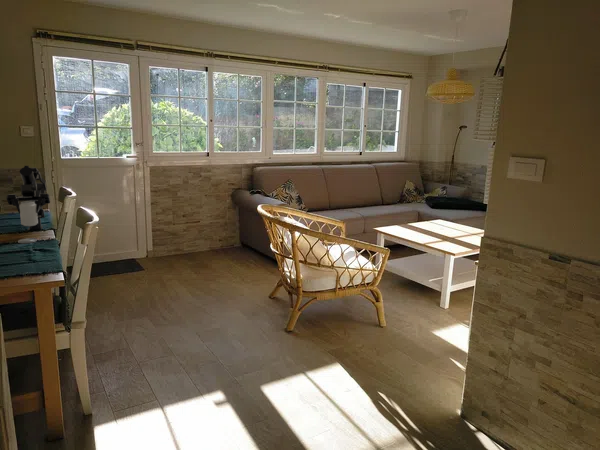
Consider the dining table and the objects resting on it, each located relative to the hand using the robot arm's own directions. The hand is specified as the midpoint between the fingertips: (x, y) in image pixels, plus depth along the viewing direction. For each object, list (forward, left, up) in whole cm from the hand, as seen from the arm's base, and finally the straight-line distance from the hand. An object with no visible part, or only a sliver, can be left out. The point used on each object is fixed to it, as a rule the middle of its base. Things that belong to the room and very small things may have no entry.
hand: (28, 212), depth 230 cm
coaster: (+9, 0, -13) cm, 16 cm away
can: (-1, 0, -7) cm, 7 cm away
